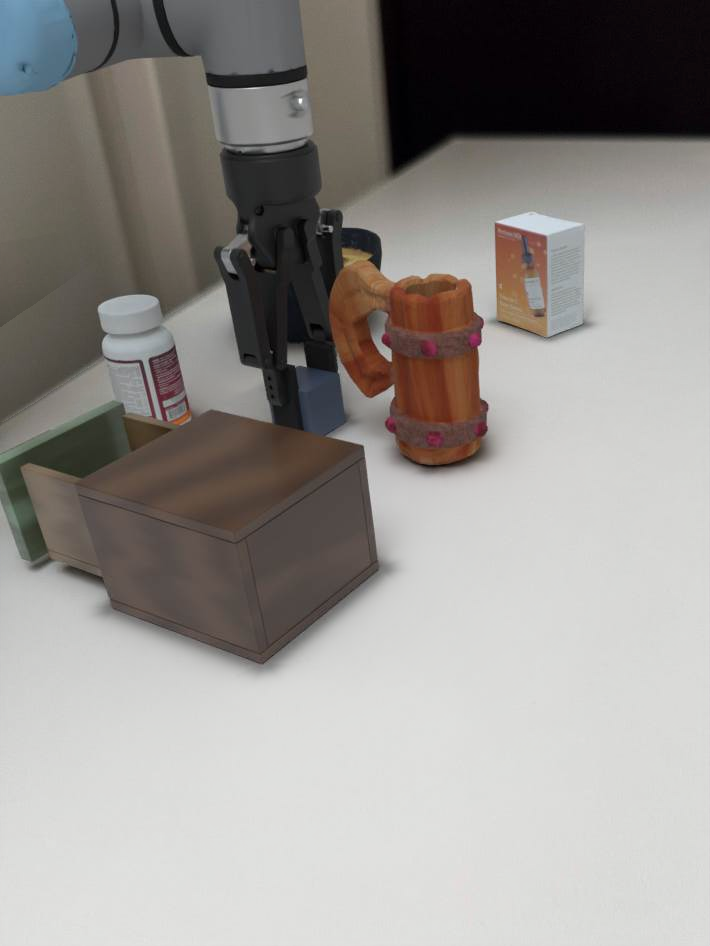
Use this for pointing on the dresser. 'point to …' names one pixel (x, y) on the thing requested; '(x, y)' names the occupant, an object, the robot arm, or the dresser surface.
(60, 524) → the drawer
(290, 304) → the bowl
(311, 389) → the block
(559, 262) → the small box
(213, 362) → the dresser surface
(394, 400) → the mug
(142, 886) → the dresser surface
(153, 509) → the cabinet
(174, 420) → the pill bottle
